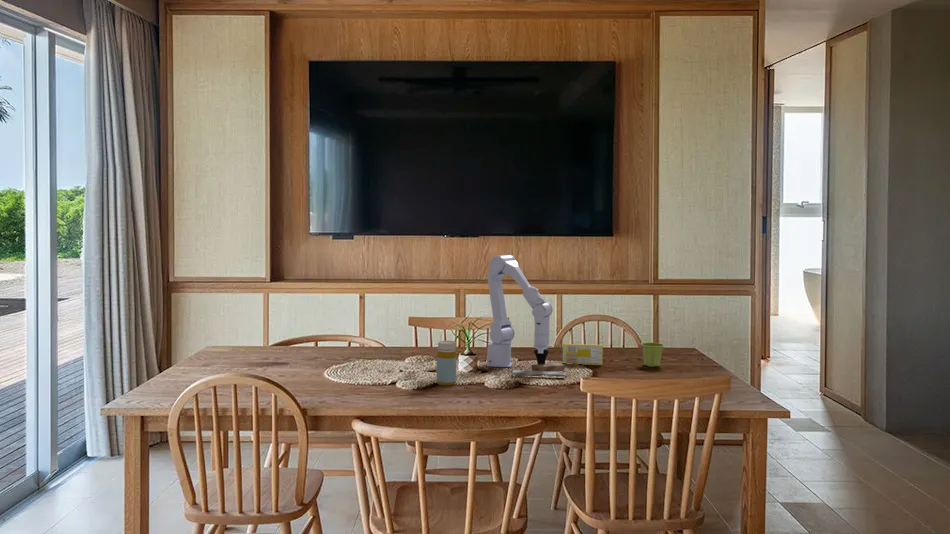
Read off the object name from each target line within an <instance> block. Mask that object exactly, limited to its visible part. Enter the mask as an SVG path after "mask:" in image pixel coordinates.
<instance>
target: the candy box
mask: <svg viewBox="0 0 950 534" xmlns="http://www.w3.org/2000/svg"><path fill="white" fill-rule="evenodd" d="M603 352H604V345H603V344H589V343H587V344H586V343H585V344H583V343H579V344H578V343H562V362H566V363H576V364H575V365H578V364H582V365H581V366H584V365H585V366H603V363H604V362H603V358H604V357H603V356H604V355H603V354H604V353H603ZM562 362H561V363H562Z"/></svg>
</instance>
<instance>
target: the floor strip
mask: <svg viewBox="0 0 950 534" xmlns="http://www.w3.org/2000/svg"><path fill="white" fill-rule="evenodd" d="M512 375H515V376H542V375H544V376H545V375H547V376H566V377H567V372H566V371H564V372H548V371H532V370H527V369H524V370H523V369H512V372H511V376H512Z"/></svg>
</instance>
